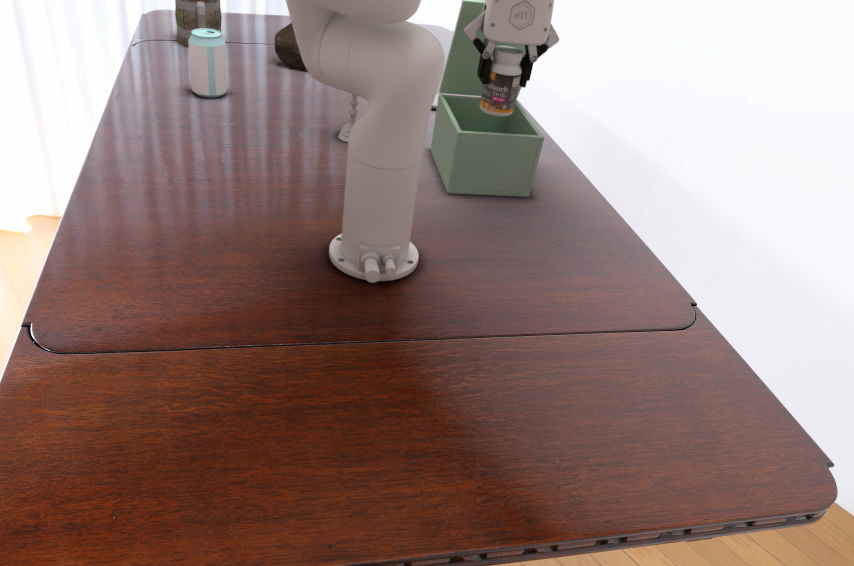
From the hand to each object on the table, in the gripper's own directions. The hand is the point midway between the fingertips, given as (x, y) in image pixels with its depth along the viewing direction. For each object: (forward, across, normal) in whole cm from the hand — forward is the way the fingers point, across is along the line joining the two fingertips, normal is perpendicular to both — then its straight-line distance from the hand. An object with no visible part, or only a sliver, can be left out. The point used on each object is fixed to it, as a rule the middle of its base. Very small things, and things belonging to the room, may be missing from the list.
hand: (502, 82), depth 110 cm
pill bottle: (+5, 0, 0) cm, 5 cm away
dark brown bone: (+18, -30, +68) cm, 76 cm away
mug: (+18, -55, +68) cm, 90 cm away
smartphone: (+18, -7, +38) cm, 43 cm away
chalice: (+18, -22, +16) cm, 33 cm away
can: (+18, -50, +36) cm, 64 cm away
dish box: (+18, 0, +4) cm, 18 cm away
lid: (-2, 0, +8) cm, 9 cm away
